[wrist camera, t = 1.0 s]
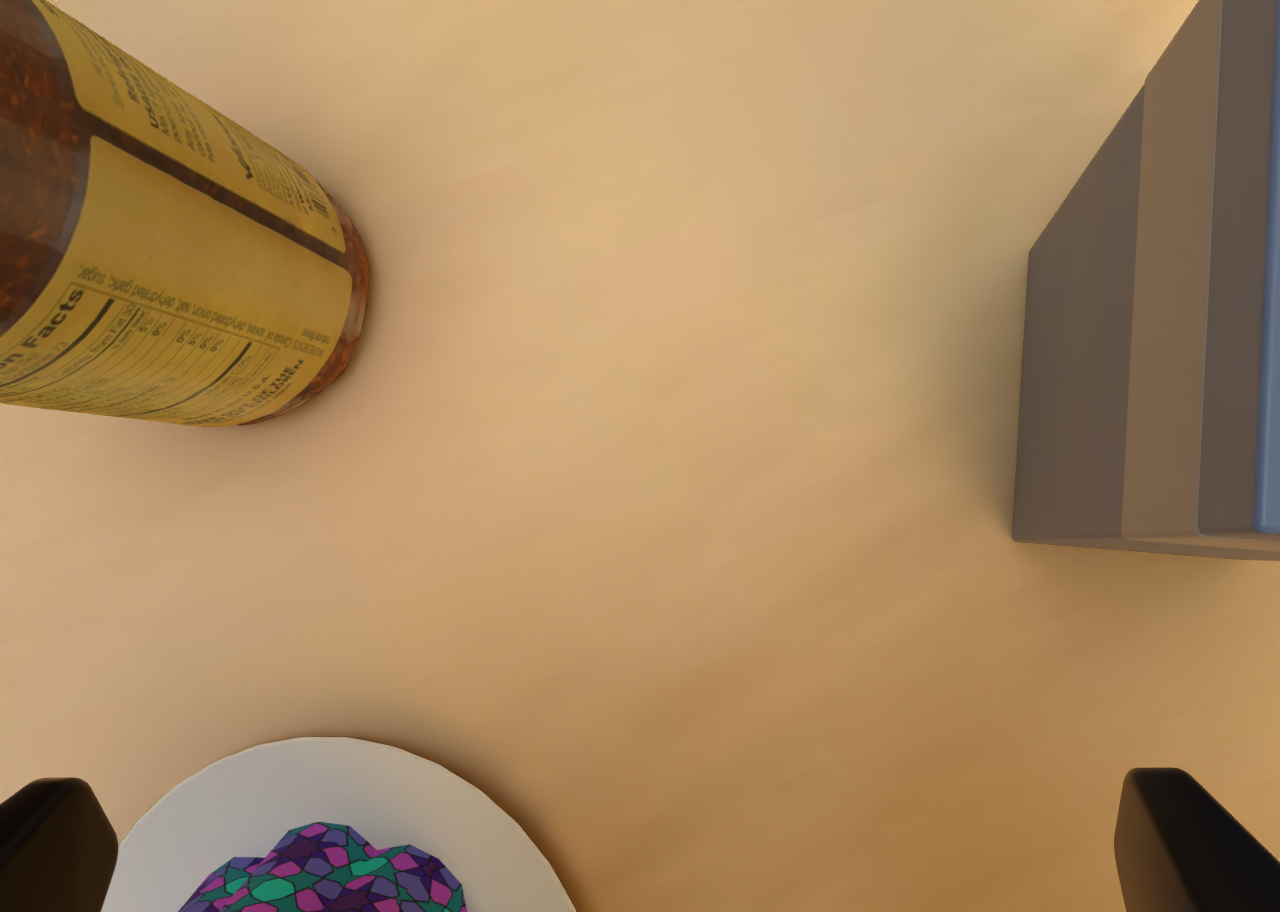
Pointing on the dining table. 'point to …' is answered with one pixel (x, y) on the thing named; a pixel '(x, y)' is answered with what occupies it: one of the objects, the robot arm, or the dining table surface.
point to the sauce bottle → (156, 244)
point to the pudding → (329, 839)
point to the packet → (1165, 314)
